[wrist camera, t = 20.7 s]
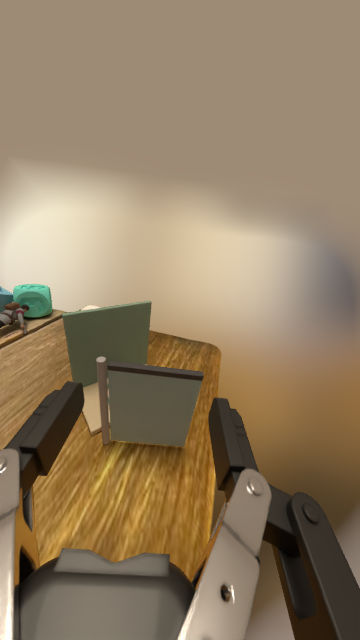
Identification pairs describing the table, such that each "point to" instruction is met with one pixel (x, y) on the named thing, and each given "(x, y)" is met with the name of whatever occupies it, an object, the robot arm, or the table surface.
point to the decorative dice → (34, 299)
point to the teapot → (5, 298)
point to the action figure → (13, 315)
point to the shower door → (151, 403)
